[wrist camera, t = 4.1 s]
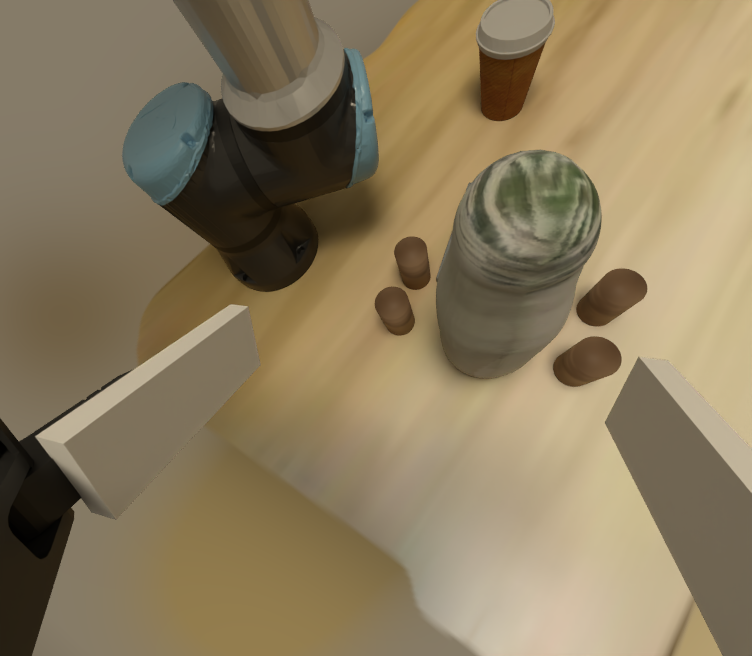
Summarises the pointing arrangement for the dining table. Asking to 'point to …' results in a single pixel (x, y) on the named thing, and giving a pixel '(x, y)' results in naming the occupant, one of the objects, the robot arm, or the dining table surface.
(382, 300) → the cylinder
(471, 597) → the dining table surface
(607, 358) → the cylinder
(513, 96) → the disposable coffee cup
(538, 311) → the grey ceramic vase
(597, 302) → the cylinder
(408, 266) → the cylinder
